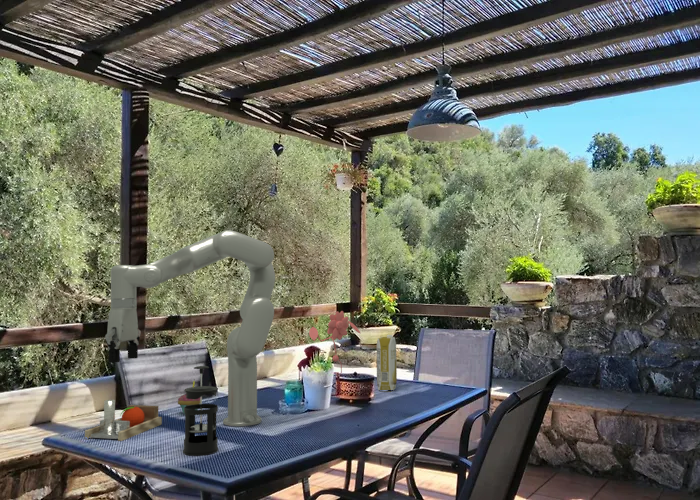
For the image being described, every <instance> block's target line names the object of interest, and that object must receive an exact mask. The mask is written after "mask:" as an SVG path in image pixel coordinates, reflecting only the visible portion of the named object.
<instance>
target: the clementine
mask: <svg viewBox="0 0 700 500" xmlns="http://www.w3.org/2000/svg"><path fill="white" fill-rule="evenodd" d="M119 417H121V418H122V421H130V427H133V426H136V425H138V424H141V423H143V421H144V413H143V411H142V410H141V409H140V408H139V407H134V406H133V407H129V408H127V407H126V408H125V409H123V410H122V411H121V412H120V415H119Z"/></svg>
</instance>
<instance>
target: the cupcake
mask: <svg viewBox="0 0 700 500" xmlns="http://www.w3.org/2000/svg"><path fill="white" fill-rule="evenodd" d="M195 385H196V380H195V378H194V380H193V381H192V387H196V386H195ZM200 401H201V397H200V398H198V399H188V398H186V393H185V394H183V395H181V396H180V397H178V399H177V405H179V406H180V408H181V411H182V414H183V413H184V407H186V405H195V404H200ZM195 410H199V409H195ZM183 415H185V413H184V414H183Z"/></svg>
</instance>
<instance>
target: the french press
mask: <svg viewBox="0 0 700 500" xmlns="http://www.w3.org/2000/svg"><path fill="white" fill-rule="evenodd" d="M193 369H194V370H199V374H200V386H199V385H198V386H194V387H193V386H192V387H187V388H184V392H185V394H186V398H188V399H198V398H200V397H201V401H200V404H195V405H186V407H184V413H185V414H184V417H185V418H184V419H185V420H184V439H183V450H182V454H184V455H186V456H192V457H202V456H209V455H212V454H216V453H217V452H219V447H218V439H219V438H218V436H217V413H218V411H219V406H218V405H217V404H214V403H202V402H203V396H204V395H211V396H215V397H216V396H217V391H218V390H219V388H218V386H209V385H203V374H204V370H205V369H210V367H209V366H206V365H200V366H199V365H198V366H195V367H193ZM195 409H198V410H195ZM204 415H206V420H207V421H206V423H203V422H202V419H203V418H202V417H203V416H204ZM196 416H199V417H200V419H199V420H200V421H199V424H196ZM205 433H206V434H205ZM196 434H197V435H196ZM198 434H200V435H198Z"/></svg>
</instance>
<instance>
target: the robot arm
mask: <svg viewBox="0 0 700 500" xmlns="http://www.w3.org/2000/svg"><path fill="white" fill-rule="evenodd" d="M228 257H231V258H233V259H236V260H238V261H241V262H243V263H244V264H245V266H246V267H247V269H248V271H249V274H250V276H249V282H248V286H247V289H246V292H245V294H244V297H243V300H242V303H241V305H240V308H239V315H240V318H241V324H240V326H237V327H236V328H234V329H232V330H231V332H230V333H229V335H228V337H227V341H226V352H227V353H226V354H227V363H228V364H227V370H228V372H227V374H228V377H227V417H225V418H224V419H223V420H222V423H223V425H224V426H231V427H247V426H254V425H258V424H260V423H262V419H263V418H262V417H261V416H259V415H258V361H257V360H258V359H257V356H258V355H260V353H261V352H262V351H263V349H264V347H265V344H266V342H267V339H268V336H269V333H270V330H271V327H272V324H273V321H274V316H275V307H274V304H273V303H272V301H271V298H272V295H273V291H274V287H275V282H276V273H275V269H274V265H273V263H272V262H274V261H273V260H274V257H275V252H274V249H273V247H272V246H271V245H270V244H269V243H267V242H265V241H263V240H260V239H258V238H254V237H251V236H250V235H249V236H248V235H246V234H243V233H241V232H239V231H235V230H232V229H231V230H230V229H226V230H223V231H221V232H218V233H216V234H213V235H210V236H209V237H206V238H204V239H201V240H199V241H195V242H194V243H192V244H189V245H186V246H184V247H182V248H180V249H179V250H178V249H177V251H175V252H173V253H172V254H169V255H167V256H164V257H162V258H160V259H157V260H155V261H153V262H152V261H151V262H150V263H148V264H139V265H131V264H130V265H129V264H117V265H113V266H112V267H111V269H110V310H109V313H108V320H107V332H106V334H105V336H104V338H105V342H106V345H107V349H108V361H109V363H119V362H120V359H121V356H120V353H121V351H120V350H121V348H119V347H120V345H121V343H124V342H127V344H128V345H127V359H138V358H139V357H138V356H139V355H138V353H139V350H138V349H139V345H140V343H139V341H140V340H141V338H140V337H141V334H142V333H141V332H142V331H141V330H140V329H139V322H138V312H137V308H138V307H137V305H138V303H137V288H143V289H144V288H145V289H153V288H156V287H158V286H160V284H162V283H165V282H167V281H169V280H171V279H174V278H177V277H178V276H182V275H186V274H190V273H193V272H195V271H198V270H200V269H203V268H205V267H207V266H210V265H213V264H215V263H216V262H219V261H222V260H223V259H226V258H228Z"/></svg>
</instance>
